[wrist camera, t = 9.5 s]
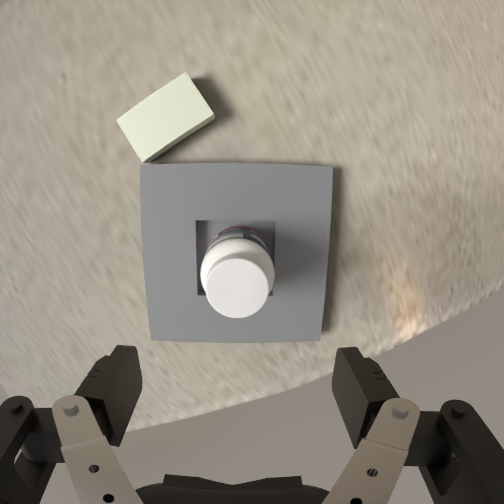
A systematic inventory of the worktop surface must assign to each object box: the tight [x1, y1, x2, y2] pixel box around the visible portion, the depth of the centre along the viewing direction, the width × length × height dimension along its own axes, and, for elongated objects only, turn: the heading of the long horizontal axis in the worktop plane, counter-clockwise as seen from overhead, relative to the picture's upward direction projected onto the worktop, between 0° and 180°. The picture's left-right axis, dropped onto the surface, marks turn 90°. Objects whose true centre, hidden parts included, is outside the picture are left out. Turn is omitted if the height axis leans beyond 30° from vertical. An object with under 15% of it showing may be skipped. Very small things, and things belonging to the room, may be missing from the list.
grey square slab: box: [140, 163, 333, 343], centre depth 28 cm, size 16×16×2 cm
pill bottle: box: [200, 226, 275, 318], centre depth 24 cm, size 5×5×9 cm
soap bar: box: [116, 72, 216, 163], centre depth 25 cm, size 7×4×2 cm, turn 122°
